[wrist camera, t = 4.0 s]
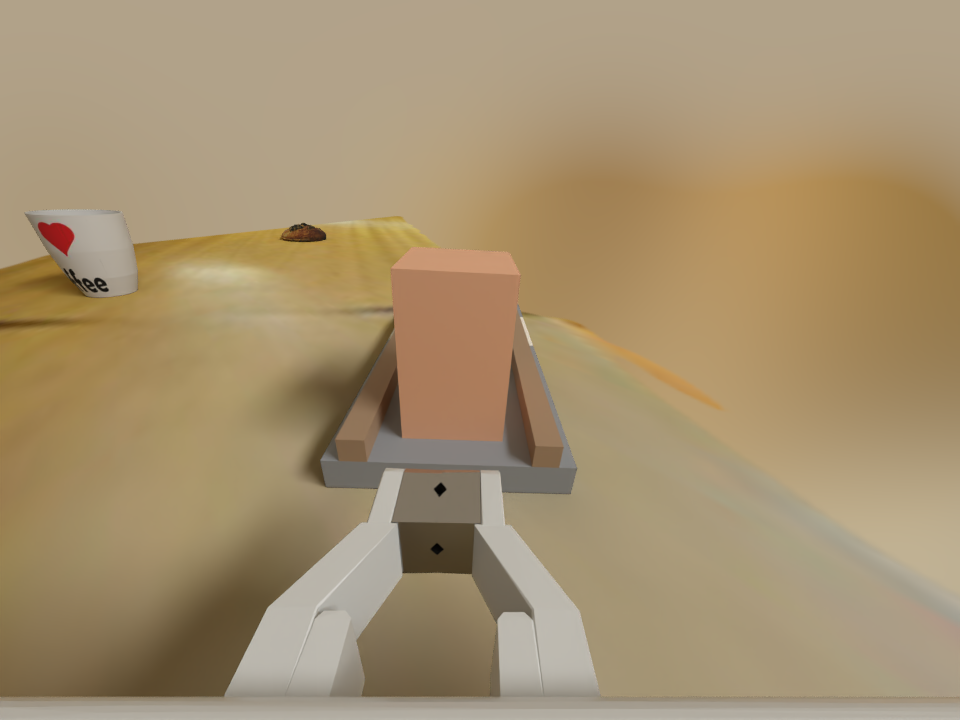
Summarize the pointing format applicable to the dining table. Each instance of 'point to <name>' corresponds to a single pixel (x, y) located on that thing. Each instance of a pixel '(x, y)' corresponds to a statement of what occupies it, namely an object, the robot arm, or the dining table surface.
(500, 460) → the tray
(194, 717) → the robot arm
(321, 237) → the bread roll
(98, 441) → the dining table surface
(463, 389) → the block
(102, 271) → the cup
